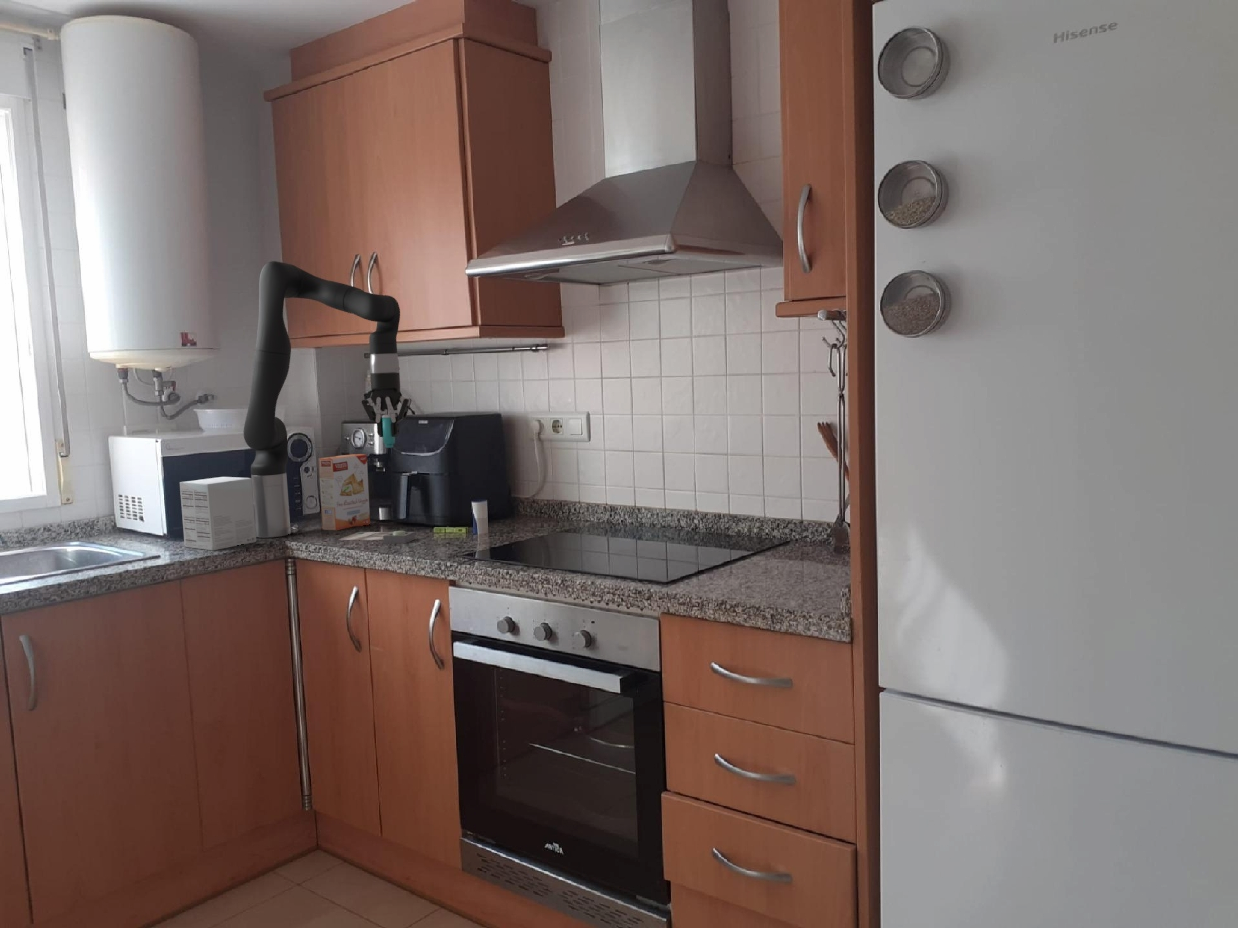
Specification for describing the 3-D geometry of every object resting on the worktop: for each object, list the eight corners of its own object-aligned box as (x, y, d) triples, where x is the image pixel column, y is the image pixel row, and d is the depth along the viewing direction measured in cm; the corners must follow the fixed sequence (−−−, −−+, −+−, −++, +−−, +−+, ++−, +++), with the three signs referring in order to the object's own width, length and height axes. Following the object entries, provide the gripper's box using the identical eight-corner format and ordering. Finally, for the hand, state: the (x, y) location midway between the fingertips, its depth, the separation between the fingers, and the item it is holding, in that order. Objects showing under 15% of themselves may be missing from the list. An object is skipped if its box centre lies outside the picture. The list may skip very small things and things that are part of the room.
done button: (391, 544, 252) (390, 532, 252) (396, 542, 255) (395, 530, 255) (402, 544, 251) (401, 532, 251) (407, 542, 254) (407, 530, 254)
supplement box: (227, 538, 271) (223, 476, 269) (257, 542, 264) (252, 477, 262) (183, 547, 260) (177, 481, 258) (212, 550, 253) (207, 483, 251)
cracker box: (337, 532, 275) (332, 458, 273) (321, 531, 277) (316, 458, 275) (372, 524, 287) (367, 453, 285) (356, 523, 290) (351, 453, 288)
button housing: (383, 545, 251) (383, 535, 251) (393, 541, 257) (393, 531, 256) (405, 545, 249) (404, 535, 249) (415, 541, 255) (414, 531, 255)
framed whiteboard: (334, 542, 258) (333, 539, 258) (357, 534, 271) (357, 531, 271) (390, 542, 255) (390, 539, 255) (411, 534, 267) (411, 531, 267)
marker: (381, 448, 260) (379, 415, 259) (386, 446, 263) (384, 414, 262) (392, 447, 259) (390, 415, 258) (397, 446, 262) (395, 414, 261)
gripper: (353, 372, 256) (357, 438, 258) (403, 370, 253) (407, 437, 255) (366, 372, 264) (370, 436, 265) (415, 370, 261) (419, 435, 262)
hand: (388, 436), depth 260 cm, fingers closed on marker, 3 cm apart
